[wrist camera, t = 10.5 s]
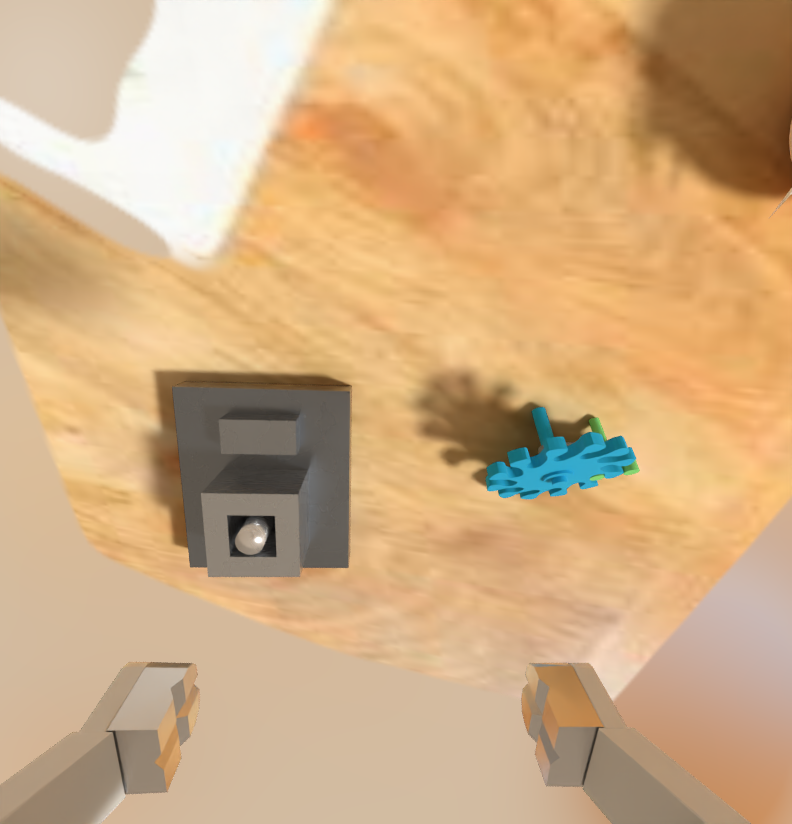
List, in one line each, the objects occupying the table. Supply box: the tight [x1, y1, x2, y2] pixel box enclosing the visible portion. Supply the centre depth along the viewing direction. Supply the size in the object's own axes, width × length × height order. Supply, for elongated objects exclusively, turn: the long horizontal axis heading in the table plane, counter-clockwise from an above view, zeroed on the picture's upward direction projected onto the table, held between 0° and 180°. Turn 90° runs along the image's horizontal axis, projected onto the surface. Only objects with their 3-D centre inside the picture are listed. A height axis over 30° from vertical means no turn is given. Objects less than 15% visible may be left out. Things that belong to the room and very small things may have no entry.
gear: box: [486, 407, 640, 499], centre depth 30 cm, size 11×6×10 cm
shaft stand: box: [172, 381, 352, 568], centre depth 29 cm, size 14×12×6 cm
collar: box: [201, 469, 309, 577], centre depth 29 cm, size 6×6×4 cm
